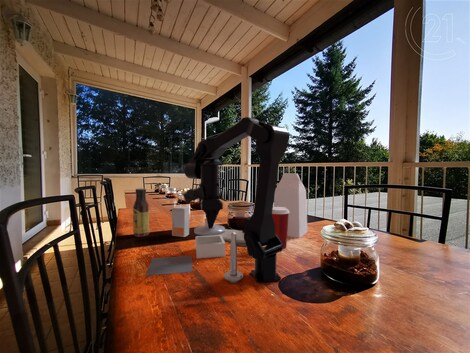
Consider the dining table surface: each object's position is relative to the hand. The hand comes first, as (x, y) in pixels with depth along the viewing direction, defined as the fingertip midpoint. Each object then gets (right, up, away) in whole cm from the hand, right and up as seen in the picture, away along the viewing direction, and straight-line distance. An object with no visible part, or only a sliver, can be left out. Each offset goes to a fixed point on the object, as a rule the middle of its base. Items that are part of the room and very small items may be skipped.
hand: (209, 227), depth 81 cm
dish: (0, -9, +1) cm, 9 cm away
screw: (+8, -10, -19) cm, 23 cm away
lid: (0, -1, 0) cm, 1 cm away
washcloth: (+8, -9, +17) cm, 21 cm away
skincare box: (-15, -8, +23) cm, 29 cm away
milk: (+32, -8, +27) cm, 43 cm away
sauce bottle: (-31, -8, +23) cm, 40 cm away
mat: (-10, -10, -10) cm, 17 cm away
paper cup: (+24, -9, +8) cm, 27 cm away
